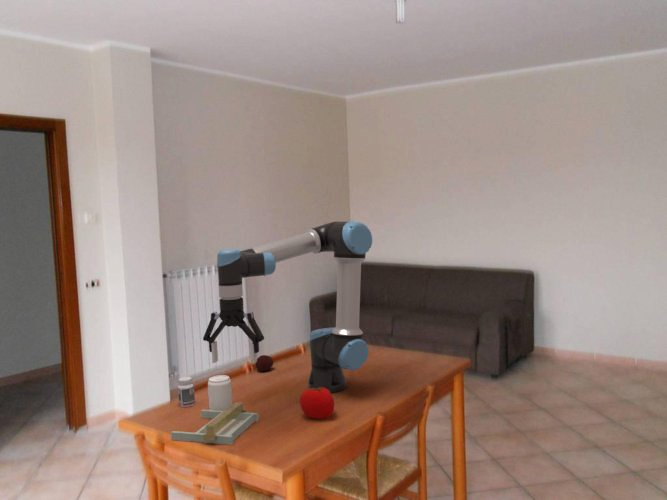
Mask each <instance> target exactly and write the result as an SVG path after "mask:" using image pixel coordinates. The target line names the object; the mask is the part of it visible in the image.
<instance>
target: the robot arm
mask: <svg viewBox="0 0 667 500" xmlns="http://www.w3.org/2000/svg"><path fill="white" fill-rule="evenodd" d="M372 235H373V234H372V232H371V230H370V229H369V227H368V226H367V225H365V224H364V223H362V222H360V221H353V220H351V221H350V220H349V221H331V222H328V223H324V224H322V225H318V226H315V227H312V228H309V229H308V230H307V231H306V232H305V233H301V234H298V235H297V234H296V235H294V236H290V237H286V238H284V239H279V240H275V241H272V242H268V243H265V244H261V245H258V246H255V247H251V248H247V249H243V250H240V249H233V248H232V249H222V250H219V251H218V252H217V256H216V257H217V260H216V262H217V263H216V264H217V265H216V266H217V276H218V277H217V278H218V297H219V311H220V312H217V311H214V312H211V314H210V320H209V323H208V325H207V328H206V331H205V333H204V334H203V337H202V339H203V340H202V341H204V342H207V343H208V348H209V350H208V351H209V352H210V353H211V356H212V357H211V359H212V361H211V362H212V363H213V364H216V363H217V362H219V358H218V357H219V354H218V352H219V351H218V350H219V349H218V340H217V341H216V339H217V338H218V336H219V335H220V334H221V332H223V330H224V328H225V327H228V328H230V327H233V328H235V327H238V328H239V329H241V330H242V331H243V333H244V334H246V336H247V337H248V338H249V340H250V341H251V342H252V343H250V354H251V355H250V356H251V358H250V359H251V364H252V365H256V362H257V358H258V356H257V355H258V353H259V352H260V342H262V341H264V340H265V337H264V335H263V333H262V331H261V329H260V327H259V325H258V323H257V321H256V320H255V316H254V311H249V312H245V311H244V298H243V295H244V294H243V293H244V291H243V279H245V278H252V277H253V278H254V277H262V276H264V277H266V276H268V275H273V274H274V272H275V271H276V266H277V264H276V263H280V262H283V261H286V260H290V259H293V258H298V257H299V256H303V255H306V254H309V253H313V254H320V253H327V252H328V253H330V252H333V258H334V260H335V261H336V262H337V278H336V279H337V281H336V282H337V283H336V284H337V285H336V314H335V327H325V328H318V329H314V330H312V331H311V332H310V334H309V343H310V344H309V345H310V362H311V370H310V373H309V377H308V381H307V389H310V388H316V387H320V388H326V389H328V390H329V391H330V393H331V394H332V393H338V392H340V391H343V390H345V389H346V388H347V384H348V383H347V378H346V376H345V373H344V370H347V371H356V370H359V369H360V368H362V367H363V365H364V364H366V362H367V359H368V358H369V345H368V344H367V342H366V341H365V340H364V332H363V330H361V328H360V310H361V309H360V308H361V305H360V304H361V282H362V281H361V278H362V277H361V275H362V263H363V262H364V261H365V260H366V254H367V252H369V251H370V249H371V247H372V244H373V236H372ZM219 318H220V320H221V322H220V323H219V325H218V326H217V328H215V325H216V323H217V321H218V320H219ZM244 318H245V319H246V320H248V321H247V322H248V324H247V323H246V321H245V320H244ZM248 325H250V327H251V328H250V327H249V326H248ZM214 328H215V330H214ZM213 330H214V332H213Z"/></svg>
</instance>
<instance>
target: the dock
mask: <svg viewBox="0 0 667 500" xmlns="http://www.w3.org/2000/svg"><path fill="white" fill-rule="evenodd" d="M223 412H224V411H216V410H209V409H201V410H200V413H201V414H200V416H201V418H202V419H211V420H209V421H208V422H207V423H206V424H205V425H203V426H202V427H200V429H198V430H197V431H196V432H189V431H177V430H173V431H171V432H170V435H171V436H170V438H171V441H178V442H180V441H181V442H190V441H193V442H192V443H194V441H195V443H202V442H204V443H205V444H214V445H215V444H216V445H217V444H218V445H228V446H229V445H230V446H232V445H234V443H235V442H234V441H235V440H237V438H238V437H240V436H241V435H242V434H243V433H244V431H246V430H247V429H249V427H250V426H252V425H253V424H254V423H255V422H259V412H247V411H246V412H242V413H240V414H239V415H238V416H237V417H236V418H234V419H233V420H232V421H231V422H230V423H228V424H227V425H226V426H225V427H224V428H222V429H221V430H220V431H219V432H218V433H216V434H215V435H216V441H205V440H203V434H206V425H207V424H209V423H210V422H211V421H213V420H214V419H215V418H216V417H218V416H219V415H220V414H221V413H223ZM213 418H214V419H213Z"/></svg>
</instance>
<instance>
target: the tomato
mask: <svg viewBox="0 0 667 500" xmlns="http://www.w3.org/2000/svg"><path fill="white" fill-rule="evenodd" d="M299 405H300V407H301V411H302V413H303V414H304V416H306V417H308V418H310V419H311V418H312V419H315V420H316V419H318V420H319V419H321V420H323V419H327V418H330V417H331V416H332V415H333V413H334V411H335V401H334V397H333V394H332V393H330V391H329V390H328V389H326V388H320V387H316V388H310V389H308V388H307V389H304V390H303V391H302V393H301V394H300V398H299Z"/></svg>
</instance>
